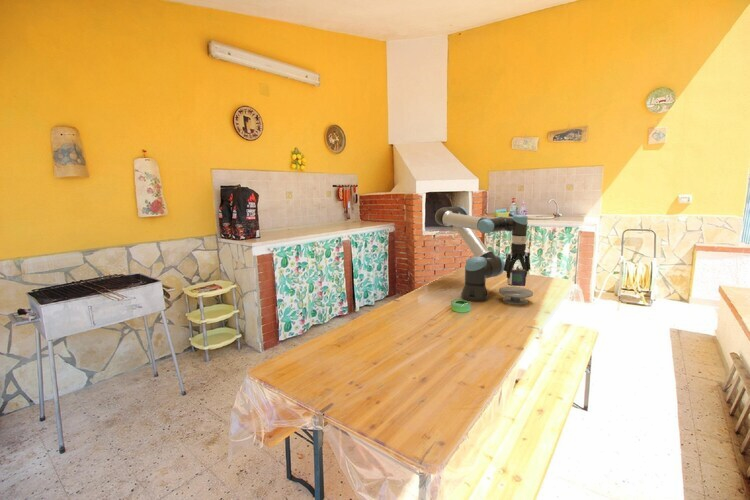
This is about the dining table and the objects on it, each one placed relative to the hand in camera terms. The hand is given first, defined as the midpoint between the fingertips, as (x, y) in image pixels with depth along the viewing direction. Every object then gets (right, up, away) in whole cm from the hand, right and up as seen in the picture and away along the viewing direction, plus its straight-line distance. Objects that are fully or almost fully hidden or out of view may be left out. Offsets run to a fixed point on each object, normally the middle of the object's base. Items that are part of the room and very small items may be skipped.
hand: (516, 282), depth 200 cm
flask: (0, -2, 0) cm, 2 cm away
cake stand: (0, -11, +2) cm, 11 cm away
